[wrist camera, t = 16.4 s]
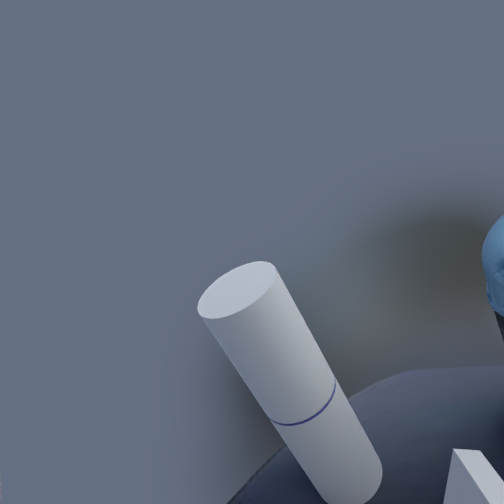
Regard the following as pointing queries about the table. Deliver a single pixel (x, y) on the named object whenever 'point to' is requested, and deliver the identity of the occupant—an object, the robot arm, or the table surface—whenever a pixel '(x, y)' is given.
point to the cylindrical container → (291, 381)
